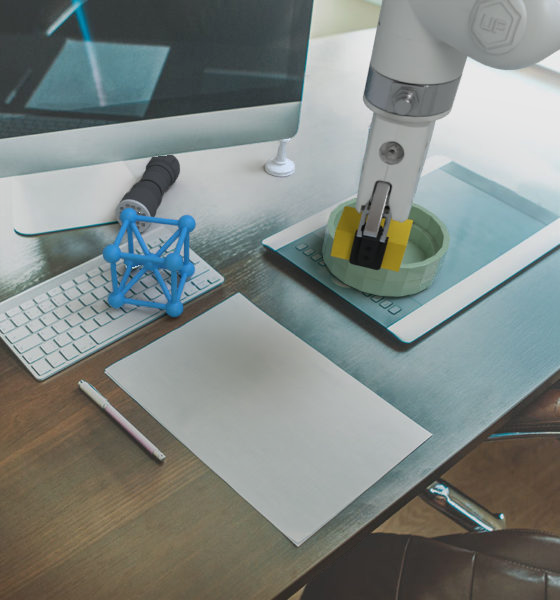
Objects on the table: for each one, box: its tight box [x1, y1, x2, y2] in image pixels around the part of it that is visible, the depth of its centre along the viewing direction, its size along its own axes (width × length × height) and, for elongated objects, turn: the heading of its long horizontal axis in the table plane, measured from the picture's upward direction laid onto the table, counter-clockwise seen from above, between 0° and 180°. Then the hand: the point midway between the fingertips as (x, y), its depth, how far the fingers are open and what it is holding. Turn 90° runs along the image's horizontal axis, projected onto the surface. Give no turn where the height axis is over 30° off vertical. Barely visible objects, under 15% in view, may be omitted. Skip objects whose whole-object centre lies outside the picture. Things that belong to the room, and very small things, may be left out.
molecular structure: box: [101, 208, 197, 318], centre depth 83 cm, size 10×10×10 cm
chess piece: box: [264, 137, 296, 178], centre depth 104 cm, size 5×5×10 cm
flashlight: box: [114, 154, 181, 233], centre depth 100 cm, size 15×5×5 cm, turn 160°
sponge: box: [331, 206, 413, 272], centre depth 68 cm, size 7×4×4 cm, turn 66°
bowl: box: [321, 197, 451, 297], centre depth 88 cm, size 16×16×6 cm
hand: (369, 249), depth 69 cm, fingers closed on sponge, 4 cm apart
